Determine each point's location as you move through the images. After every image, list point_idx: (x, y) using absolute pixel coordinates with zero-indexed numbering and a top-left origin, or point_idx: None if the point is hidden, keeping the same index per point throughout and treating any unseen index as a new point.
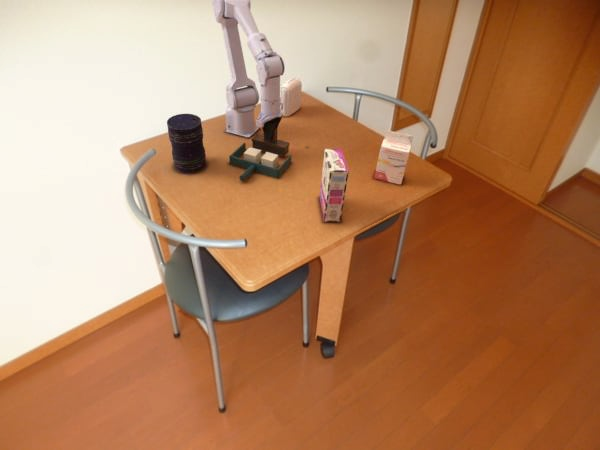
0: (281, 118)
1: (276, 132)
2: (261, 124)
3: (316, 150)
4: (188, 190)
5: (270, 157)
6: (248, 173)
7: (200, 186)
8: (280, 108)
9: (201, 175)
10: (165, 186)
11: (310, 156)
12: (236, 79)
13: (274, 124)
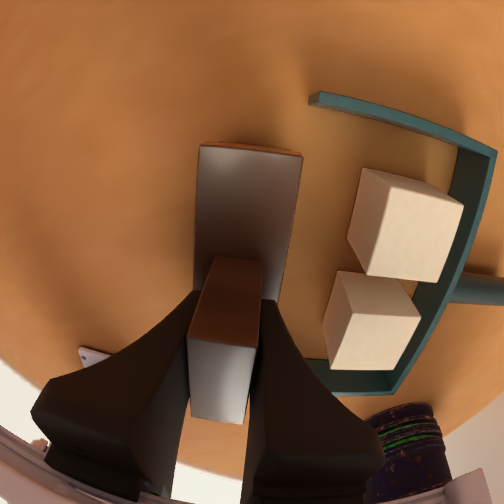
0: (68, 386)
1: (219, 311)
2: (485, 497)
3: (106, 21)
4: (494, 378)
5: (430, 230)
6: (493, 284)
7: (487, 368)
8: (8, 502)
9: (442, 392)
10: (470, 413)
11: (179, 16)
12: None
13: (362, 448)
